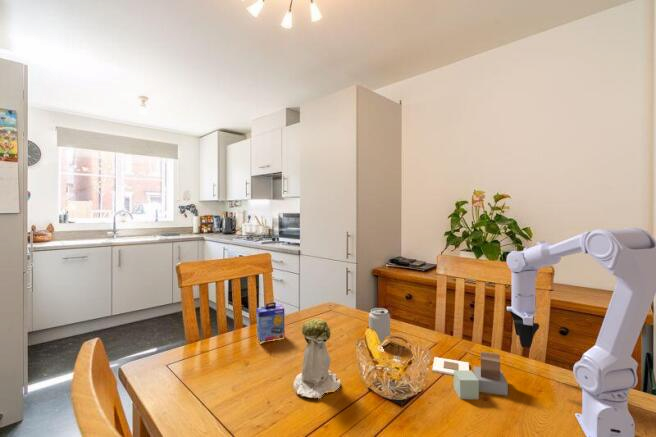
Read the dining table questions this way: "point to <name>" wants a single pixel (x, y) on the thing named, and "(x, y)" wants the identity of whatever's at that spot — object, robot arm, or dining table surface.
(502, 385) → the slate plinth
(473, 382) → the grey-green block
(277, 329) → the ink cartridge box
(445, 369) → the plaque
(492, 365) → the walnut block
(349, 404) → the dining table surface
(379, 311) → the can
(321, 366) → the grey statuette
